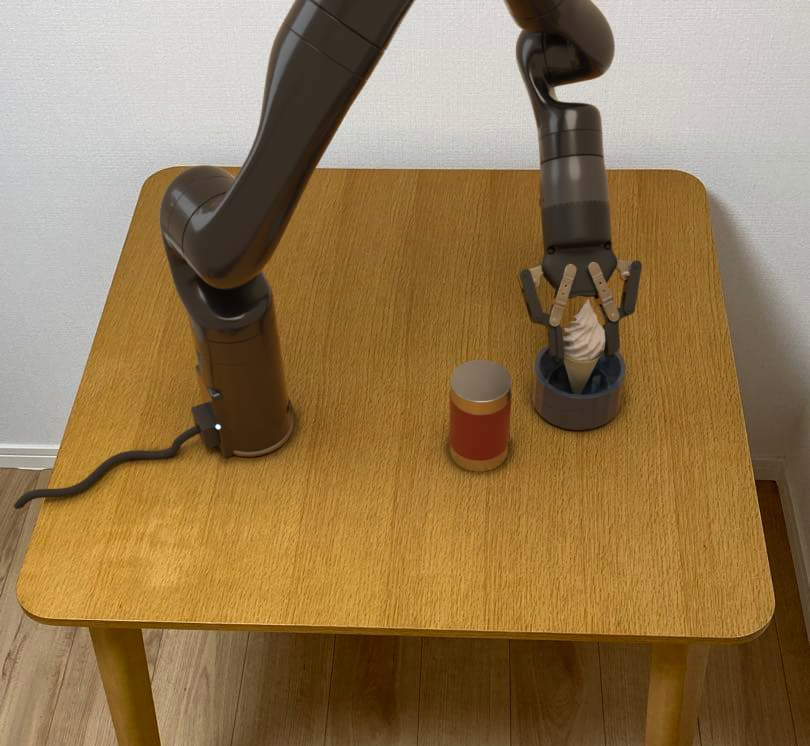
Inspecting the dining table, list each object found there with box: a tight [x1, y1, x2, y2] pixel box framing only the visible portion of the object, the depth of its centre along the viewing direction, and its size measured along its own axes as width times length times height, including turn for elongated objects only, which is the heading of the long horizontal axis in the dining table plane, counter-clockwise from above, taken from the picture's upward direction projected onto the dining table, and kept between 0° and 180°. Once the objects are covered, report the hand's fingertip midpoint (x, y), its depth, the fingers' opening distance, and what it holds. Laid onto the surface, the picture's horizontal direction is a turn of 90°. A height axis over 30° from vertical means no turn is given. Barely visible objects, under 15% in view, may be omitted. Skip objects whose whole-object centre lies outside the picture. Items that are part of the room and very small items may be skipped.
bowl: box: [531, 344, 627, 431], centre depth 138 cm, size 10×10×6 cm
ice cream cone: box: [563, 298, 606, 395], centre depth 134 cm, size 5×5×15 cm
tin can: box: [449, 359, 513, 473], centre depth 131 cm, size 7×7×11 cm
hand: (585, 358), depth 133 cm, fingers closed on ice cream cone, 5 cm apart
